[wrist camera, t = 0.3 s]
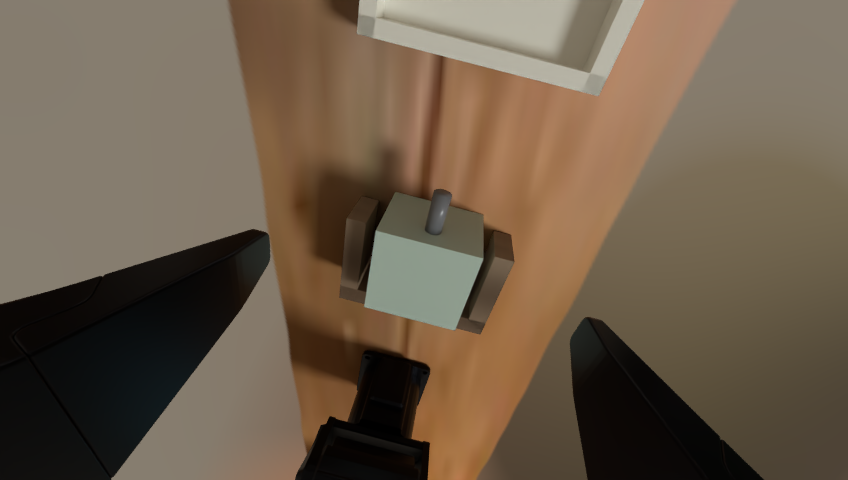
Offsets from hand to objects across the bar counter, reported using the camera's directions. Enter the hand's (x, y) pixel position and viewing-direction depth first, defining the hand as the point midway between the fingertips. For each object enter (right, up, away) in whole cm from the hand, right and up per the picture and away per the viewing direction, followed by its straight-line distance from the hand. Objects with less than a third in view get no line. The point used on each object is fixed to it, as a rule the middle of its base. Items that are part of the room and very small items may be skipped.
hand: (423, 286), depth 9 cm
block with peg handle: (+1, +2, +14) cm, 14 cm away
